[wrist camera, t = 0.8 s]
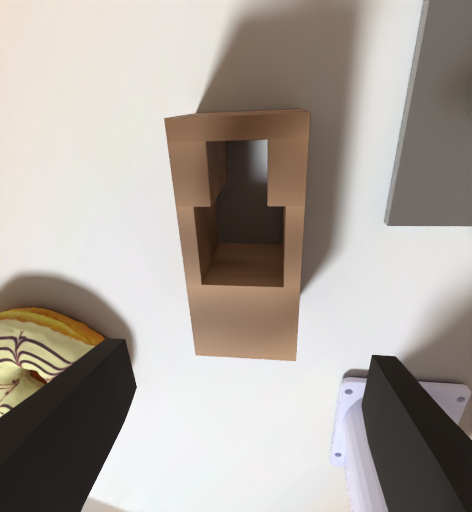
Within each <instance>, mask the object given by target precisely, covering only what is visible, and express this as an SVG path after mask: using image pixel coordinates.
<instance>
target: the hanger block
mask: <svg viewBox="0 0 472 512" xmlns="http://www.w3.org/2000/svg"><path fill="white" fill-rule="evenodd" d="M164 120H165V128H166V135H167V143H168V150H169V158H170V165H171V173H172V180H173V188H174V196H175V203H176V211H177V218H178V226H179V233H180V241H181V248H182V256H183V263H184V271H185V278H186V286H187V293H188V301H189V308H190V316H191V323H192V331H193V338H194V346H195V353H196V355H201V356H218V357H235V358H252V359H269V360H287V361H296V352H297V334H298V317H299V300H300V283H301V266H302V249H303V232H304V214H305V197H306V180H307V163H308V146H309V129H310V112H308V111H306V110H303V109H282V110H259V111H236V112H213V113H194V114H188V115H182V116H176V117H170V118H164ZM267 139H268V195H267V206H283V239H282V243H219V234H218V220H217V206H216V198H217V196H218V194H219V193H220V191H221V190H222V188H223V186H224V185H225V183H226V182H227V180H228V174H227V156H226V141H235V140H267Z"/></svg>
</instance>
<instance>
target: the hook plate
mask: <svg viewBox="0 0 472 512" xmlns="http://www.w3.org/2000/svg"><path fill="white" fill-rule="evenodd" d="M384 222H385V223H386V225H387V226H472V0H424V1H423V7H422V12H421V18H420V24H419V29H418V35H417V40H416V46H415V51H414V57H413V63H412V68H411V74H410V79H409V85H408V90H407V96H406V102H405V107H404V113H403V118H402V124H401V129H400V135H399V141H398V146H397V152H396V157H395V163H394V168H393V174H392V179H391V185H390V191H389V196H388V202H387V207H386V213H385V218H384Z"/></svg>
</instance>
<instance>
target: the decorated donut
mask: <svg viewBox="0 0 472 512" xmlns="http://www.w3.org/2000/svg"><path fill="white" fill-rule="evenodd" d="M103 340H105V338H104V337H103V336H102V335H100V334H98V333H97V332H95V331H94V330H91V329H90V328H89V327H88V326H87V325H86V324H85V323H82V322H78V321H75V320H73V319H71V318H69V317H67V316H65V315H62V314H60V313H56V312H54V311H52V310H47V309H43V308H36V307H35V306H34V307H30V308H25V307H24V308H17V309H10V310H6V311H4V312H0V417H1V416H2V415H4V414H5V413H7V412H8V411H9V410H11V409H12V408H14V407H15V406H16V405H18V404H19V403H21V402H22V401H24V400H25V399H26V398H28V397H29V396H31V395H32V394H33V393H35V392H36V391H37V390H39V389H40V388H41V387H43V386H44V385H45V384H47V383H48V382H49V381H51V380H52V379H53V378H55V377H56V376H57V375H59V374H60V373H61V372H63V371H64V370H65V369H66V368H68V367H69V366H70V365H72V364H73V363H74V362H76V361H77V360H78V359H79V358H81V357H82V356H83V355H85V354H86V353H87V352H88V351H90V350H91V349H92V348H94V347H95V346H96V345H98V344H99V343H100V342H102V341H103Z"/></svg>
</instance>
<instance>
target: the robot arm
mask: <svg viewBox="0 0 472 512" xmlns="http://www.w3.org/2000/svg"><path fill="white" fill-rule="evenodd" d="M136 388H137V386H136V382H135V378H134V373H133V369H132V365H131V361H130V357H129V353H128V349H127V345H126V341H125V339H112V338H106V339H105V340H103V341H102V342H100V343H99V344H98V345H96V346H95V347H94V348H92V349H91V350H90V351H88V352H87V353H86V354H85V355H83V356H82V357H81V358H79V359H78V360H77V361H76V362H74V363H73V364H72V365H70V366H69V367H68V368H66V369H65V370H64V371H63V372H61V373H60V374H59V375H57V376H56V377H55V378H53V379H52V380H51V381H49V382H48V383H47V384H45V385H44V386H43V387H41V388H40V389H39V390H37V391H36V392H35V393H33V394H32V395H31V396H29V397H28V398H26V399H25V400H24V401H22V402H21V403H19V404H18V405H16V406H15V407H14V408H12V409H11V410H9V411H8V412H7V413H5V414H4V415H2V416H1V417H0V512H81V510H82V507H83V505H84V503H85V501H86V499H87V497H88V495H89V493H90V491H91V489H92V487H93V485H94V483H95V481H96V479H97V477H98V475H99V473H100V471H101V469H102V467H103V465H104V463H105V461H106V459H107V457H108V455H109V453H110V451H111V449H112V446H113V444H114V442H115V440H116V438H117V436H118V434H119V432H120V430H121V428H122V426H123V424H124V422H125V419H126V416H127V414H128V411H129V408H130V406H131V403H132V400H133V397H134V394H135V391H136ZM347 389H349V390H347ZM470 395H471V391H470V389H469V388H468V386H466V385H463V384H450V383H434V382H419V381H417V380H416V379H415V378H414V377H413V375H412V374H411V373H410V372H409V371H408V370H407V369H406V367H405V366H404V365H403V364H402V363H401V362H400V361H399V360H398V359H397V357H396V356H382V355H372V358H371V363H370V367H369V372H368V376H367V378H355V377H346V378H344V379H343V380H342V381H341V386H340V392H339V399H338V405H337V412H336V419H335V425H334V432H333V439H332V445H331V452H330V463H331V464H332V465H334V466H341V467H344V472H345V477H346V483H347V489H348V494H349V500H350V505H351V511H352V512H472V440H471V439H470V438H469V437H468V436H467V435H466V434H465V432H464V431H463V430H462V429H461V428H460V427H459V426H458V424H459V422H460V419H461V417H462V414H463V412H464V410H465V407H466V405H467V403H468V400H469V398H470Z"/></svg>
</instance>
